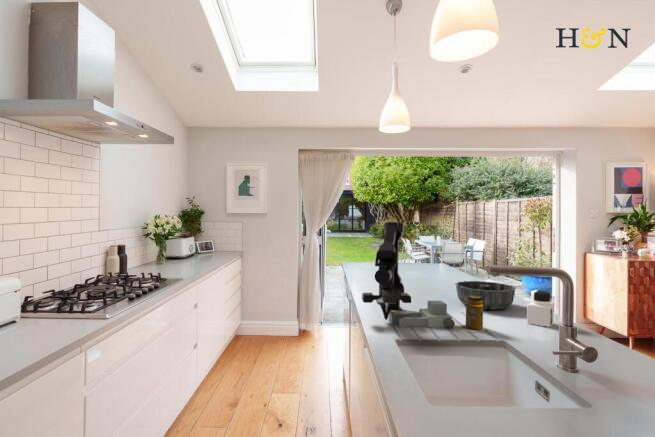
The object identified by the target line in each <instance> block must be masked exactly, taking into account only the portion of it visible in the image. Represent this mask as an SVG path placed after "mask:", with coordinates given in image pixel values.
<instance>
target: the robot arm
mask: <svg viewBox="0 0 655 437" xmlns="http://www.w3.org/2000/svg"><path fill="white" fill-rule="evenodd" d="M383 225H384V227H383V228H384V229H383V231H384V236H383V243H381V245H379V246H378V250H377V251H376V253H375V254H376V255H375V263H374V266H375V267H378V270H376V272H375V274H374V280H375V281H376V282H377V284H378V294H373V292H363V293H362V294H361V300H362V302H363V303H370V304H371V303H373V302H374V301H375V302H376V304H377V305H379V306H380V309H381V311H382V314H383V319H384V320H386V321H387V320H388V318H389V313H390V311H403V308H402V307H401V302H402V303H403V304H411V303H412V296H411V295H410V294H408V293H407V292H405V286H404V283H403V282H402V280H403V279H402V277H401V276H400V274H399V256H400V254H399V252H400V245H399V244H400V240H401V239H402V237H403V234H404V232H405V224H404V223H403V222H401V221H387V222H385V223H384V224H383Z"/></svg>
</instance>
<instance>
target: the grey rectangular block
mask: <svg viewBox="0 0 655 437" xmlns="http://www.w3.org/2000/svg"><path fill="white" fill-rule="evenodd" d="M408 312H409V311H407V310H390V313H389V316H388V318H389V319H388V321H389V322H390V324H391V325H399V319H400V318H404V317H405V318H406V317H410V314H409V313H408Z"/></svg>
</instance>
